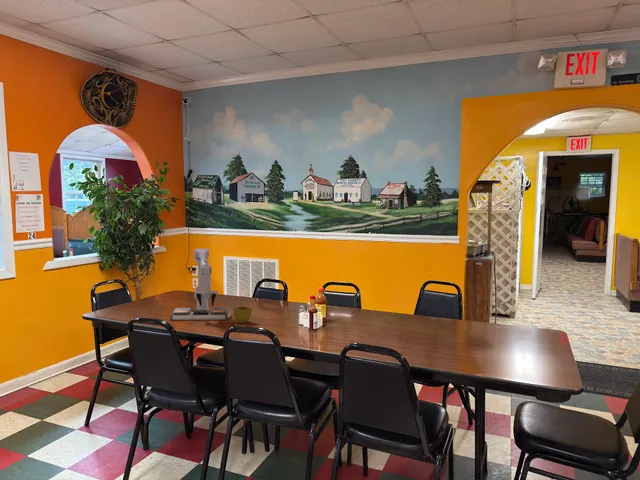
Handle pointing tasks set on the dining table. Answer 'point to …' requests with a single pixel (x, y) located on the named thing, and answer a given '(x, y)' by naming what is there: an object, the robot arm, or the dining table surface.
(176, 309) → the grey rectangular frame
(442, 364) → the dining table surface
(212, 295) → the robot arm
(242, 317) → the flower pot
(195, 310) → the rocker
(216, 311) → the panel
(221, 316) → the grey switch panel
